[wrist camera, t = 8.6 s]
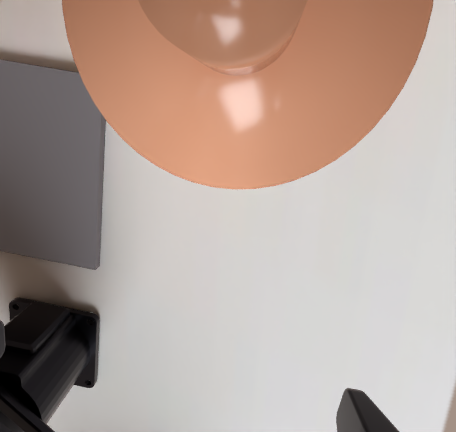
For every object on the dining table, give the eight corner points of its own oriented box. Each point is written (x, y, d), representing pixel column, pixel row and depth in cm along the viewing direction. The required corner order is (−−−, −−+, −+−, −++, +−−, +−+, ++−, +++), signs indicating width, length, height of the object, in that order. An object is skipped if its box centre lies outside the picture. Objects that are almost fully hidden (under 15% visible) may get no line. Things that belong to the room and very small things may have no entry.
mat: (99, 265, 23) (95, 269, 22) (-67, 232, 24) (-75, 235, 23) (107, 77, 19) (102, 77, 18) (-92, 43, 20) (-102, 42, 19)
